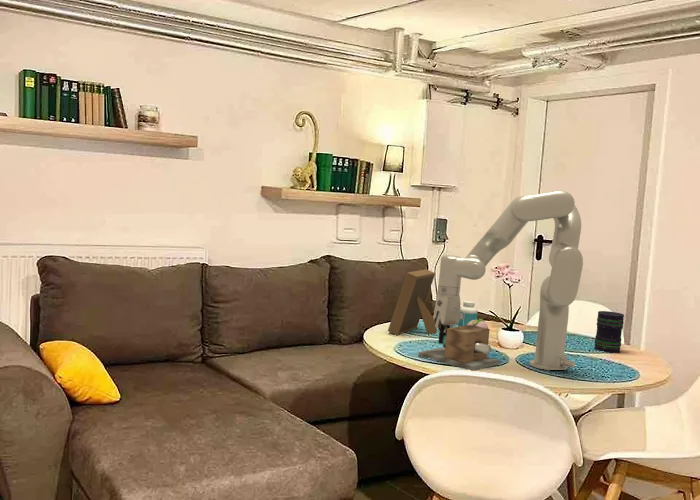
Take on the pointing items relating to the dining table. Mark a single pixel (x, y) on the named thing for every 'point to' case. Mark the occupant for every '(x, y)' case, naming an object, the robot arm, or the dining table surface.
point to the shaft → (478, 346)
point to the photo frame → (413, 304)
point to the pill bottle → (467, 313)
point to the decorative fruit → (478, 323)
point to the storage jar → (609, 331)
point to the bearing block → (463, 348)
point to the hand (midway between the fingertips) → (443, 343)
